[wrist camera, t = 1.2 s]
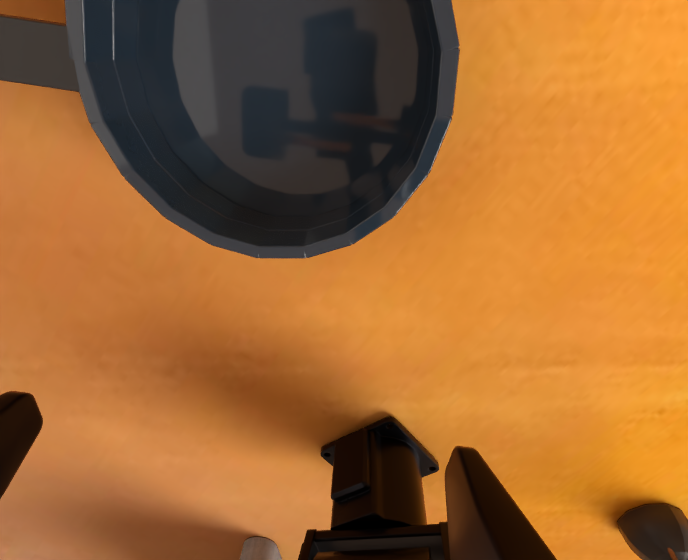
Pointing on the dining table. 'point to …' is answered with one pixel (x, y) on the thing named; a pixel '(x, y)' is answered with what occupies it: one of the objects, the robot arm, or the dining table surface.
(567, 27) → the dining table surface
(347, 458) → the robot arm
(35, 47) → the saucepan handle
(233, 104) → the saucepan
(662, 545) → the wooden tabletop sculpture
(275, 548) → the hip flask
